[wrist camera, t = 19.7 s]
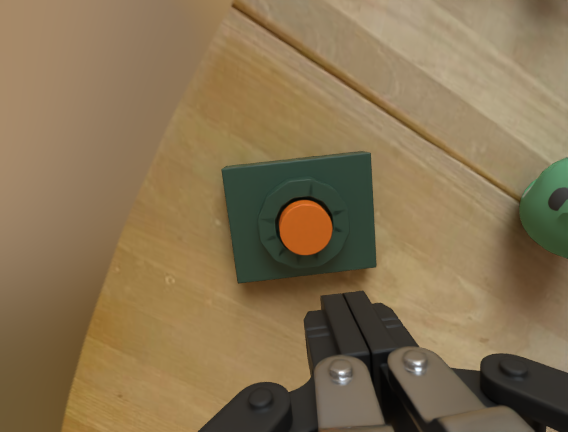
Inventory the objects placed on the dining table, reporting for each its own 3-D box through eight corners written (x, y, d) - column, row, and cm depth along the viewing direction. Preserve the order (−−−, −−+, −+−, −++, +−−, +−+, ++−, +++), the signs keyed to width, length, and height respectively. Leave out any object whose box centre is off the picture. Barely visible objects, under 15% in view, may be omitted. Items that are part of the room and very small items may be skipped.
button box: (362, 151, 29) (377, 153, 25) (368, 257, 31) (383, 275, 27) (225, 166, 28) (218, 171, 24) (240, 272, 30) (236, 292, 26)
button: (326, 197, 26) (330, 201, 24) (330, 244, 26) (334, 252, 25) (276, 202, 25) (276, 207, 24) (281, 250, 26) (282, 258, 25)
